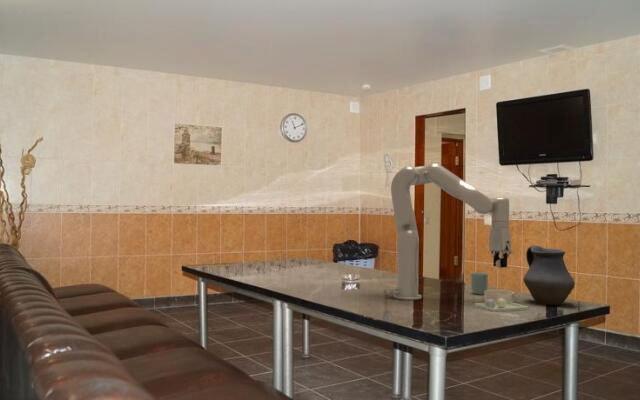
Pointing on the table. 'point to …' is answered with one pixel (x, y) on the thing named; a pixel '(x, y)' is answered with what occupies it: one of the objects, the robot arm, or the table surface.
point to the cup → (479, 282)
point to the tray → (508, 307)
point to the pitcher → (547, 276)
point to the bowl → (499, 295)
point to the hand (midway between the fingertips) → (500, 266)
